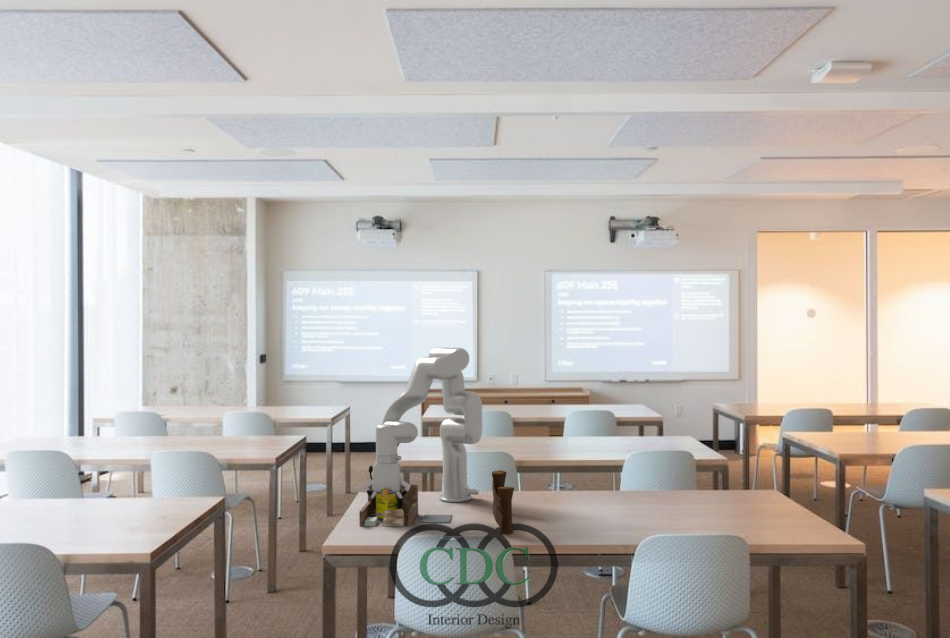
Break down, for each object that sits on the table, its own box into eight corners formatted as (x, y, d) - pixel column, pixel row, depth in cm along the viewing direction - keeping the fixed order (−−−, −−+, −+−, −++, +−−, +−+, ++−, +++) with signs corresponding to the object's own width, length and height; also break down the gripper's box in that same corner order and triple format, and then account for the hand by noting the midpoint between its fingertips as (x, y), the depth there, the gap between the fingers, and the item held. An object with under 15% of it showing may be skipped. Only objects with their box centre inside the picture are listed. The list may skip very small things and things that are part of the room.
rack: (418, 514, 272) (417, 483, 272) (411, 526, 256) (411, 493, 256) (368, 514, 273) (368, 483, 273) (359, 526, 257) (359, 493, 257)
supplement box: (387, 522, 261) (387, 490, 262) (375, 519, 265) (375, 488, 265) (399, 518, 266) (399, 487, 266) (387, 516, 270) (386, 485, 270)
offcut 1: (377, 522, 262) (377, 517, 262) (375, 526, 257) (374, 520, 257) (367, 522, 262) (367, 517, 262) (364, 526, 257) (364, 520, 257)
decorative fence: (490, 510, 276) (490, 469, 276) (506, 510, 276) (505, 469, 276) (498, 536, 242) (497, 490, 242) (516, 536, 242) (515, 489, 242)
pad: (452, 515, 269) (452, 514, 269) (449, 523, 259) (449, 521, 259) (424, 515, 269) (424, 514, 269) (420, 523, 259) (420, 521, 259)
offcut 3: (405, 523, 261) (405, 516, 261) (403, 526, 257) (403, 519, 257) (385, 523, 261) (385, 516, 261) (383, 526, 257) (383, 519, 257)
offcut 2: (401, 516, 261) (401, 508, 261) (403, 518, 258) (403, 511, 258) (384, 517, 259) (384, 510, 259) (386, 520, 256) (386, 512, 256)
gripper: (412, 457, 269) (413, 506, 269) (364, 457, 270) (365, 506, 270) (409, 461, 262) (410, 511, 261) (360, 461, 263) (360, 511, 262)
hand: (387, 508), depth 266 cm, fingers closed on supplement box, 8 cm apart
